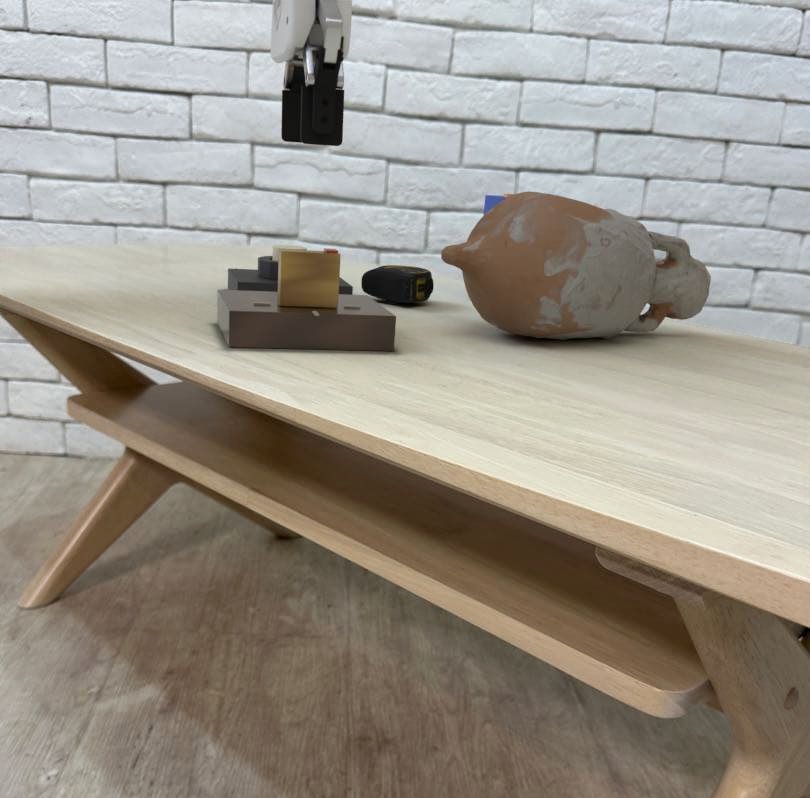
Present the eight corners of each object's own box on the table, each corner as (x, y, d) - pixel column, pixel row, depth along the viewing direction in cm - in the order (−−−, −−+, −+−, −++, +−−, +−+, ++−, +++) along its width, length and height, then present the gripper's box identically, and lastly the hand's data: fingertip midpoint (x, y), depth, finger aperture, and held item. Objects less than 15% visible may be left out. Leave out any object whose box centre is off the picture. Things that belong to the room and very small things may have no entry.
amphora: (405, 189, 91) (668, 146, 101) (407, 350, 100) (647, 295, 111) (481, 235, 81) (764, 182, 91) (475, 409, 90) (732, 343, 101)
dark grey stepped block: (237, 303, 102) (237, 263, 100) (227, 288, 111) (228, 251, 109) (351, 307, 105) (354, 268, 104) (333, 292, 114) (335, 256, 112)
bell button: (274, 265, 104) (275, 247, 104) (270, 260, 108) (270, 244, 107) (308, 266, 105) (309, 249, 105) (303, 262, 109) (303, 245, 108)
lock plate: (230, 350, 81) (230, 311, 79) (217, 322, 91) (217, 287, 90) (397, 354, 84) (399, 316, 83) (365, 327, 95) (367, 293, 94)
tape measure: (356, 300, 110) (358, 265, 108) (397, 296, 115) (399, 262, 113) (404, 310, 106) (406, 274, 105) (443, 305, 111) (446, 271, 110)
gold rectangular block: (279, 306, 84) (281, 248, 82) (277, 302, 85) (278, 245, 84) (338, 308, 85) (340, 251, 84) (334, 305, 87) (337, 248, 85)
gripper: (252, -87, 81) (251, 139, 88) (284, -135, 66) (279, 142, 72) (342, -75, 83) (334, 144, 90) (393, -120, 68) (379, 149, 74)
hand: (310, 143), depth 81 cm, fingers open, 9 cm apart
